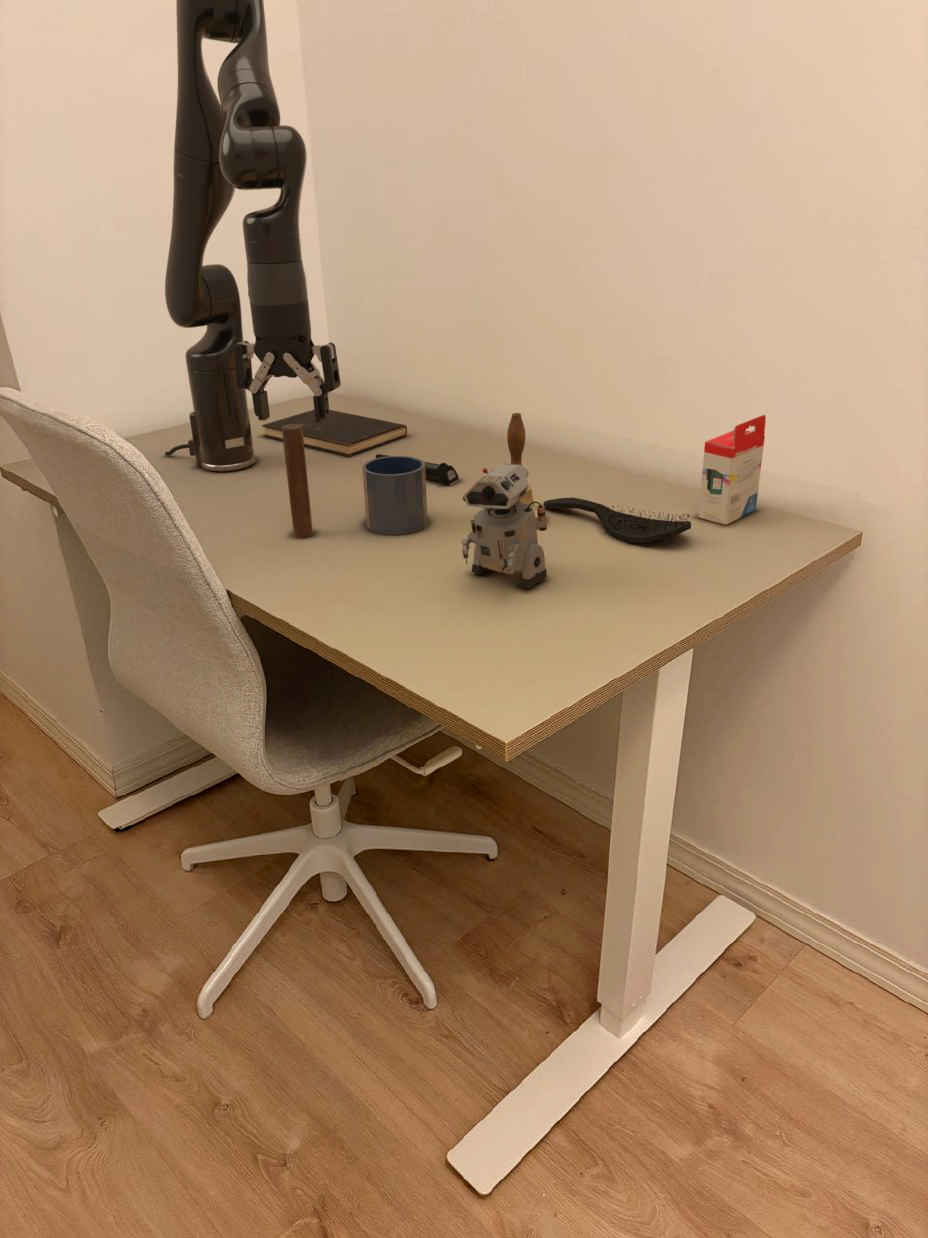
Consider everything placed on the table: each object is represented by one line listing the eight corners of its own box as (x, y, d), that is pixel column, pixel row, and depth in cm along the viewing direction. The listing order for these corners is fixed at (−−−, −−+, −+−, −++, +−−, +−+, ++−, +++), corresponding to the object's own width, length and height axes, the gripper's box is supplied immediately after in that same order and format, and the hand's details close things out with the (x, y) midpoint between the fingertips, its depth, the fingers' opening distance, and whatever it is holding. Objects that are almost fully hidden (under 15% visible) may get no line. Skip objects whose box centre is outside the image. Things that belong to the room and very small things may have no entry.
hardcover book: (348, 456, 174) (347, 444, 173) (263, 436, 187) (261, 424, 186) (407, 435, 185) (407, 423, 184) (323, 418, 198) (322, 406, 197)
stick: (290, 537, 140) (278, 428, 133) (298, 530, 143) (286, 423, 135) (308, 538, 139) (296, 429, 132) (316, 531, 142) (305, 424, 135)
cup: (357, 532, 141) (352, 473, 137) (379, 510, 149) (375, 454, 145) (416, 537, 139) (413, 477, 135) (435, 515, 147) (432, 457, 143)
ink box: (728, 503, 148) (738, 408, 142) (757, 510, 145) (768, 413, 138) (696, 518, 143) (705, 420, 136) (726, 526, 140) (736, 426, 133)
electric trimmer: (385, 467, 169) (383, 450, 167) (460, 480, 161) (459, 461, 160) (371, 474, 166) (370, 455, 164) (447, 486, 158) (447, 467, 157)
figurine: (444, 590, 123) (440, 477, 116) (497, 560, 131) (496, 452, 124) (503, 608, 118) (503, 490, 111) (554, 575, 126) (556, 464, 119)
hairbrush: (562, 481, 150) (703, 510, 134) (562, 504, 152) (703, 535, 136) (527, 495, 145) (670, 527, 129) (528, 519, 147) (670, 553, 131)
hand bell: (479, 516, 146) (477, 411, 139) (529, 507, 149) (529, 404, 142) (503, 534, 139) (502, 425, 132) (554, 524, 142) (556, 417, 135)
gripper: (340, 293, 128) (350, 415, 135) (242, 292, 131) (257, 411, 138) (317, 302, 121) (329, 430, 128) (215, 301, 125) (232, 425, 132)
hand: (292, 420), depth 133 cm, fingers open, 8 cm apart
